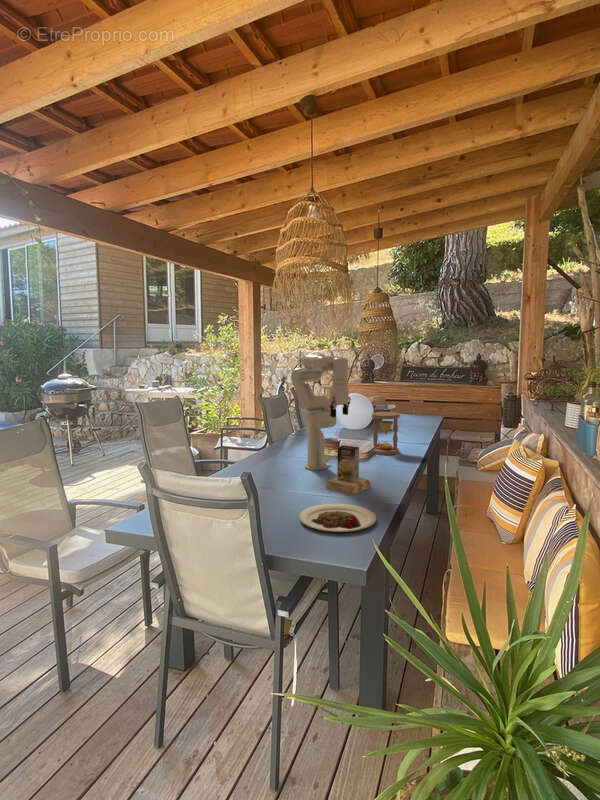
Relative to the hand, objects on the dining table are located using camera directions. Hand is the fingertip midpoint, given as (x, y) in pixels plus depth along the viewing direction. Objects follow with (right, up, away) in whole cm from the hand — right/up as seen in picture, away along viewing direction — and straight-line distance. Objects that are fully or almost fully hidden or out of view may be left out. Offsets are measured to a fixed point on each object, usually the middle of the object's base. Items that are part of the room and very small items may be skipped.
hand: (339, 415), depth 241 cm
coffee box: (+3, -31, -13) cm, 33 cm away
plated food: (-5, -40, -54) cm, 67 cm away
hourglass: (+35, -26, +65) cm, 78 cm away
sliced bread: (+3, -34, -12) cm, 37 cm away
